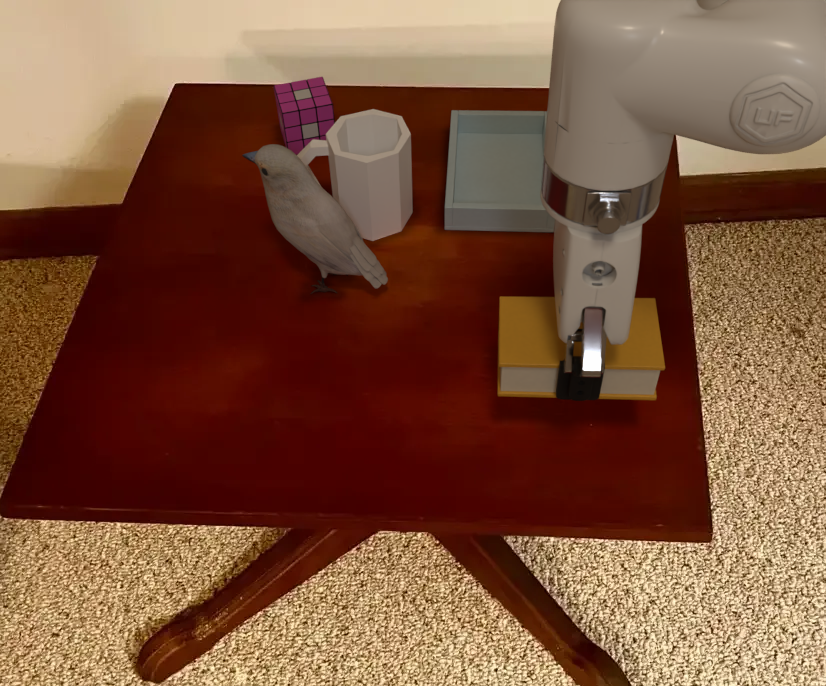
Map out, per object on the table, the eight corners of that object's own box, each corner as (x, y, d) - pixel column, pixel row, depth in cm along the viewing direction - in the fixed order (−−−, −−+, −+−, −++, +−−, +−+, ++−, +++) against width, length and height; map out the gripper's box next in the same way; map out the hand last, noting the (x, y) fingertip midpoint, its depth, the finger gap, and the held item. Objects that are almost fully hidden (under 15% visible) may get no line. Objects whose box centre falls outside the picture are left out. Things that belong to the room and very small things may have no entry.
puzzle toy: (280, 127, 103) (273, 84, 98) (327, 118, 103) (322, 75, 99) (288, 156, 99) (281, 113, 95) (337, 147, 100) (332, 103, 95)
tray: (548, 133, 99) (551, 110, 97) (553, 232, 89) (556, 210, 86) (451, 132, 100) (451, 109, 98) (444, 230, 90) (444, 207, 88)
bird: (275, 248, 90) (251, 124, 78) (397, 279, 86) (391, 154, 74) (253, 279, 87) (225, 156, 75) (378, 314, 83) (368, 189, 71)
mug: (414, 187, 94) (412, 108, 87) (410, 241, 89) (408, 163, 81) (304, 186, 96) (293, 109, 88) (294, 240, 90) (281, 162, 83)
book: (647, 332, 71) (655, 297, 68) (656, 400, 67) (665, 367, 63) (498, 329, 72) (499, 296, 69) (497, 396, 68) (499, 363, 65)
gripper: (679, 274, 49) (633, 450, 63) (649, 96, 60) (614, 280, 74) (545, 273, 50) (527, 447, 64) (538, 98, 61) (525, 279, 75)
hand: (574, 356), depth 69 cm, fingers closed on book, 7 cm apart
